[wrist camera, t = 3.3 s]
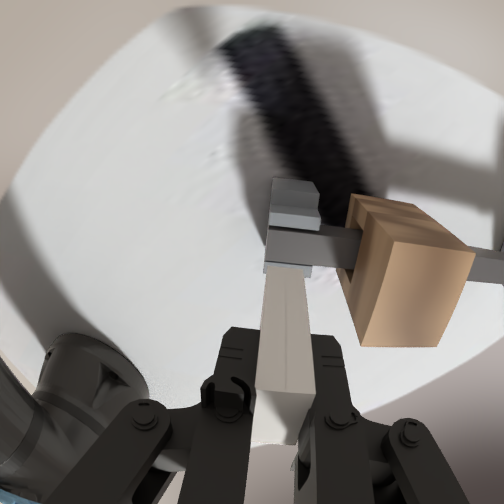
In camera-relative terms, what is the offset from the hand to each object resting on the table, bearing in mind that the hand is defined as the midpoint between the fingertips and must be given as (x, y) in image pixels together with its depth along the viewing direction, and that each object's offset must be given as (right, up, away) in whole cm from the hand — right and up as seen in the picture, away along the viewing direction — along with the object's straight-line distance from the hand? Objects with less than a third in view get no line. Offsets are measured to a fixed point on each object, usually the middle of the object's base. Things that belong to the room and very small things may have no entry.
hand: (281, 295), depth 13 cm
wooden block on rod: (+8, +3, +8) cm, 12 cm away
